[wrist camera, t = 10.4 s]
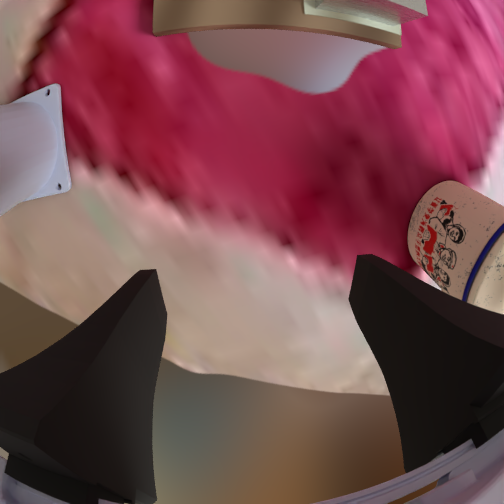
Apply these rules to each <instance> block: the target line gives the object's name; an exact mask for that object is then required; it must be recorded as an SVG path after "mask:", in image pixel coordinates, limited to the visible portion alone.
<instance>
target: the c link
mask: <svg viewBox="0 0 504 504" xmlns="http://www.w3.org/2000/svg"><path fill="white" fill-rule="evenodd" d="M315 9H320V10H327V11H332V12H338V13H343V14H348V15H352V16H356V17H361V18H365V19H369V20H372V21H376V22H380V23H383V24H386V25H390V26H396V25H399V24H402V23H405V22H408V21H412V20H415V19H418V18H422V17H426V16H428V14H427V8H426V2H425V0H315Z"/></svg>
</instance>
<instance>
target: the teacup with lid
mask: <svg viewBox="0 0 504 504" xmlns="http://www.w3.org/2000/svg"><path fill="white" fill-rule="evenodd" d="M408 248H409V251H410V254H411V256H412V258H413V260H414V261H415V262H416V263H417V264H418V265H419V266H420V267H421V268H422V269H423V270H424V271H425V272H426V273H427V274H428V275H429V276H430V277H431V278H432V279H433V280H434V281H435V283H436V284H437V285H438V286H439V287H440V288H441V289H442V291H443V292H445V293H447V294H449V295H451V296H453V297H456V298H458V299H460V300H462V301H465V302H467V303H470V304H472V305H475V306H478V307H481V308H484V309H487V310H490V311H493V312H497V313H500V314H503V313H504V206H502V205H500V204H498V203H497V202H495V201H493V200H491V199H490V198H488V197H486V196H484V195H482V194H481V193H479V192H477V191H475V190H473V189H471V188H469V187H467V186H465V185H463V184H461V183H459V182H456V181H444V182H441V183H438V184H437V185H435V186H433V187H432V188H431V189H430V190H428V191H427V192H426V193H425V195H424V196H423V197H422V198H421V200H420V201H419V203H418V204H417V206H416V208H415V210H414V212H413V214H412V217H411V220H410V224H409V229H408Z"/></svg>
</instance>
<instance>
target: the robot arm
mask: <svg viewBox="0 0 504 504" xmlns="http://www.w3.org/2000/svg"><path fill="white" fill-rule="evenodd" d="M48 90H50V94H49V95H48V94H47V93H48ZM58 184H61V189H60V188H59V186H58ZM71 186H72V185H71V178H70V173H69V167H68V160H67V154H66V146H65V138H64V129H63V119H62V105H61V87H60V85H59V84H51V85H49V86H46V87H44V88H42V89H39V90H37V91H35V92H33V93H30V94H28V95H26V96H24V97H22V98H20V99H18V100H16V101H14V102H12V103H10V104H4V105H0V216H2V215H3V214H4V213H6V212H7V211H9V210H10V209H12V208H13V207H15V206H16V205H18V204H19V203H21V202H23V201H27V200H32V199H36V198H40V197H45V196H49V195H54V194H59V193H64V192H67V191H69V190H70V189H71ZM349 302H350V305H351V308H352V311H353V313H354V316H355V319H356V321H357V323H358V325H359V327H360V329H361V331H362V333H363V335H364V337H365V339H366V341H367V343H368V344H369V346H370V348H371V350H372V352H373V354H374V356H375V358H376V360H377V362H378V364H379V366H380V368H381V370H382V373H383V375H384V378H385V381H386V384H387V387H388V390H389V393H390V396H391V399H392V402H393V406H394V410H395V413H396V418H397V422H398V427H399V432H400V437H401V444H402V451H403V460H404V469H405V471H406V474H404V475H402V476H399V477H397V478H394V479H392V480H389V481H387V482H384V483H382V484H379V485H376V486H373V487H370V488H367V489H364V490H361V491H358V492H355V493H352V494H348V495H345V496H341V497H338V498H334V499H330V500H326V501H321V502H317V503H312V504H386V503H389V502H392V501H394V500H396V499H398V498H401V497H403V496H405V495H408V494H410V493H412V492H414V491H416V490H418V489H420V488H422V487H424V486H426V485H428V484H430V483H432V482H434V481H436V480H437V479H439V478H440V479H439V481H438V482H437V486H436V487H435V489H433V490H431V491H429V492H427V493H425V494H423V495H421V496H419V497H417V498H415V499H413V500H411V501H409V502H407V503H405V504H504V314H500V313H497V312H493V311H490V310H487V309H484V308H481V307H478V306H475V305H472V304H470V303H467V302H465V301H462V300H460V299H458V298H456V297H453V296H451V295H449V294H447V293H445V292H443V291H441V290H439V289H437V288H435V287H433V286H431V285H429V284H427V283H425V282H423V281H422V280H420V279H418V278H416V277H414V276H413V275H411V274H409V273H407V272H406V271H404V270H402V269H400V268H398V267H397V266H395V265H393V264H391V263H389V262H388V261H386V260H384V259H382V258H380V257H377V256H375V255H373V254H366V255H357V260H356V265H355V270H354V275H353V280H352V285H351V290H350V295H349ZM166 324H167V311H166V308H165V304H164V300H163V296H162V292H161V288H160V284H159V280H158V275H157V271H156V269H151V270H140V271H138V272H137V273H136V274H135V275H134V276H132V277H131V278H130V279H129V280H128V281H127V282H126V283H125V284H124V285H123V286H122V287H121V288H120V289H119V290H118V291H117V292H116V293H115V294H113V295H112V296H111V297H110V298H109V299H108V300H107V301H106V302H105V303H104V304H103V305H102V306H101V307H99V308H98V309H97V310H96V311H95V312H94V313H93V314H92V315H91V316H89V317H88V318H87V319H86V320H85V321H84V322H83V323H81V324H80V325H79V326H78V327H76V328H75V329H74V330H72V331H71V332H70V333H69V334H67V335H66V336H65V337H63V338H62V339H61V340H59V341H57V342H56V343H54V344H53V345H51V346H50V347H48V348H47V349H45V350H44V351H42V352H41V353H39V354H38V355H36V356H34V357H32V358H31V359H29V360H27V361H25V362H23V363H21V364H19V365H18V366H16V367H13V368H11V369H9V370H7V371H5V372H3V373H0V447H1V448H3V449H4V450H5V451H7V452H8V453H9V456H8V460H6V459H5V458H3V457H1V456H0V504H124V503H128V504H153V503H154V502H155V501H157V496H156V489H155V481H154V470H153V454H152V453H153V452H152V418H153V417H152V416H153V400H154V392H155V386H156V381H157V376H158V371H159V366H160V361H161V356H162V351H163V347H164V342H165V335H166Z"/></svg>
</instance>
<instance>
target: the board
mask: <svg viewBox="0 0 504 504" xmlns="http://www.w3.org/2000/svg"><path fill="white" fill-rule="evenodd" d="M217 29H280V30H294V31H304V32H313V33H321V34H327V35H334V36H340V37H345V38H351V39H355V40H360V41H365V42H369V43H373V44H377V45H381V46H385V47H388V48H392V49H397V48H401V35H402V34H401V24H399V25H396V26H390V25H386V24H383V23H380V22H376V21H372V20H369V19H365V18H361V17H356V16H352V15H348V14H343V13H338V12H332V11H327V10H320V9H315V0H154V6H153V34H154V35H155V36H156V37H157V36H163V35H170V34H177V33H184V32H192V31H203V30H217Z"/></svg>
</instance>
